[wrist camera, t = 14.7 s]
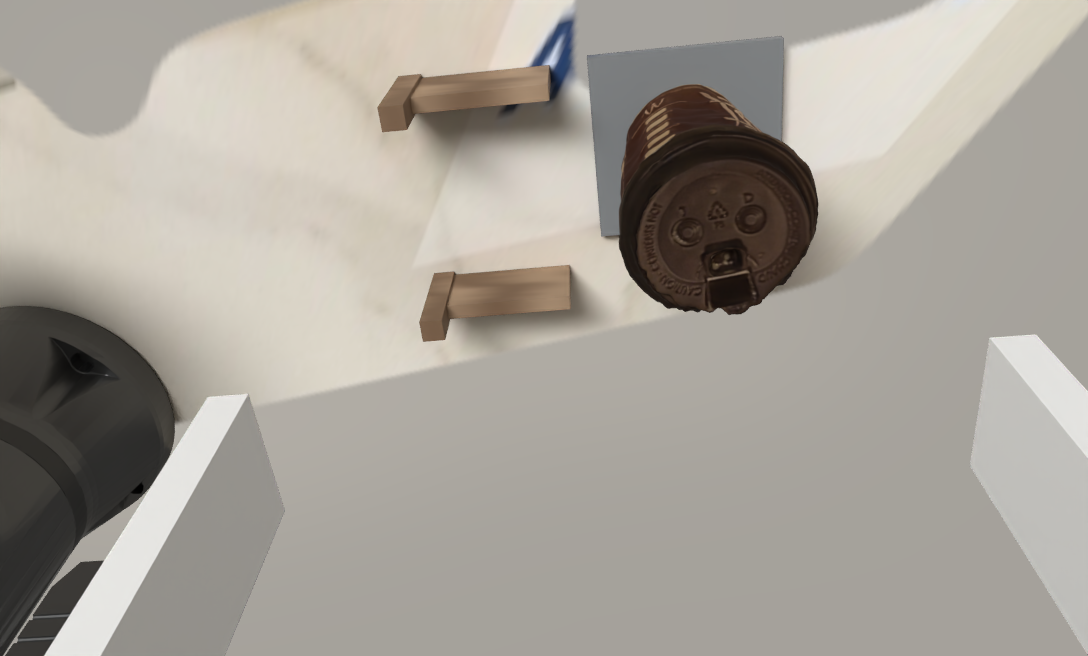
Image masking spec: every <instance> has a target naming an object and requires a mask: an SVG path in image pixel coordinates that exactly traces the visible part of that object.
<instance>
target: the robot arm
mask: <svg viewBox="0 0 1088 656" xmlns="http://www.w3.org/2000/svg"><path fill="white" fill-rule="evenodd" d="M174 433H175V426H174V416H173V412H172V407H171V404H170V401H169V399H168V396H167V394H166V392H165V390H164V388H163V386H162V384H161V382H160V381H159V379H158V378H157V376H156V375H155V373H154V372H153V370H152V369H151V368H150V367H149V365H148V364H147V363H146V362H145V361H144V360H143V359H142V358H141V357H140V356H139V355H138V354H137V353H136V352H135V351H134V350H133V349H132V348H131V347H130V346H128V345H127V344H126V343H125V342H123V341H122V340H121V339H119V338H118V337H116V336H115V335H114V334H112V333H110V332H109V331H107V330H105V329H104V328H102V327H100V326H98V325H96V324H94V323H92V322H90V321H88V320H86V319H83V318H81V317H78V316H75V315H72V314H69V313H66V312H62V311H59V310H54V309H49V308H42V307H32V306H14V307H5V308H0V656H3V655H4V653H5V652H6V650H7V648H8V647H9V646H10V644H11V643H12V641H13V640H14V638H15V637H16V635H17V633H18V632H19V631H20V629H21V627H22V626H23V625H24V623H25V621H26V620H27V619H28V617H29V616H30V614H31V613H32V611H33V609H34V608H35V606H36V605H37V603H38V602H39V600H40V599H41V597H42V596H43V594H44V593H45V591H46V590H47V588H48V587H49V585H50V584H51V582H52V581H53V580H54V578H55V577H56V575H57V574H58V572H59V571H60V569H61V568H62V566H63V565H64V563H65V562H66V560H67V559H68V557H69V555H70V554H71V553H72V551H73V550H74V548H75V547H76V545H77V544H78V543H79V541H80V540H81V539H82V538H83V537H85V536H86V535H88V534H89V533H90V532H92V531H93V530H95V529H96V528H98V527H99V526H101V525H102V524H104V523H105V522H106V521H108V520H110V519H111V518H113V517H114V516H115V515H117V514H118V513H120V512H121V511H122V510H124V509H126V508H127V507H129V506H130V505H131V504H133V503H134V502H135V501H137V500H138V499H139V498H140V497H141V496H142V495H143V494H144V493H145V492H146V491H147V490H148V489H149V488H150V486H151V485H152V486H151V488H150V489H149V491H148V492H147V494H146V495H145V497H144V499H143V500H142V502H141V504H140V505H139V506H138V508H137V510H136V511H135V513H134V514H133V516H132V518H131V519H130V521H129V522H128V524H127V525H126V527H125V529H124V530H123V532H122V533H121V535H120V537H119V538H118V540H117V541H116V543H115V544H114V546H113V548H112V549H111V551H110V552H109V554H108V556H107V557H106V559H105V560H104V561H91V562H80V563H79V564H78V565H77V566H76V567H75V568H73V569H72V570H71V571H70V572H69V573H68V574H66V575H65V576H64V577H63V578H62V579H61V580H60V581H58V582H57V583H56V584H55V585H54V586H53V587H52V588H51V589H50V591H49V592H48V594H47V595H46V596H45V598H44V599H43V601H42V602H41V604H40V605H39V607H38V608H37V610H36V611H35V613H34V614H33V620H29V622H28V623H27V624H26V626H25V628H24V629H23V630H22V632H21V633H20V635H19V636H18V642H17V643H14V644H13V645H12V646H11V648H10V649H9V651H8V652H7V654H6V655H5V656H225V654H226V651H227V649H228V646H229V644H230V642H231V639H232V637H233V635H234V632H235V630H236V627H237V625H238V623H239V620H240V618H241V615H242V613H243V610H244V608H245V606H246V603H247V601H248V598H249V596H250V594H251V591H252V589H253V586H254V584H255V582H256V579H257V577H258V574H259V572H260V569H261V567H262V564H263V562H264V560H265V557H266V555H267V553H268V550H269V548H270V545H271V543H272V540H273V538H274V536H275V533H276V531H277V528H278V526H279V524H280V521H281V519H282V517H283V514H284V512H285V510H284V507H283V503H282V500H281V497H280V493H279V490H278V487H277V484H276V481H275V477H274V474H273V471H272V468H271V465H270V462H269V458H268V455H267V452H266V449H265V445H264V442H263V439H262V436H261V433H260V429H259V427H258V423H257V420H256V417H255V414H254V410H253V407H252V404H251V401H250V397H249V394H240V395H226V396H213V397H207V399H206V400H205V402H204V404H203V405H202V407H201V408H200V410H199V412H198V413H197V415H196V416H195V418H194V419H193V421H192V423H191V424H190V426H189V427H188V429H187V431H186V432H185V434H184V435H183V437H182V438H181V440H180V442H179V443H178V445H177V446H176V448H175V450H174V451H173V453H172V455H171V456H170V453H171V450H172V447H173V442H174ZM169 456H170V458H169ZM168 458H169V459H168ZM167 460H168V461H167ZM165 463H166V464H165ZM970 466H971V468H972V470H973V471H974V473H975V475H976V476H977V478H978V479H979V481H980V483H981V484H982V486H983V487H984V489H985V491H986V492H987V494H988V496H989V497H990V499H991V500H992V502H993V504H994V505H995V507H996V508H997V510H998V512H999V513H1000V515H1001V516H1002V518H1003V520H1004V521H1005V523H1006V524H1007V526H1008V528H1009V529H1010V531H1011V532H1012V534H1013V536H1014V537H1015V539H1016V541H1017V542H1018V544H1019V545H1020V547H1021V549H1022V550H1023V552H1024V553H1025V555H1026V557H1027V558H1028V560H1029V561H1030V563H1031V565H1032V566H1033V568H1034V569H1035V571H1036V573H1037V574H1038V576H1039V577H1040V579H1041V581H1042V582H1043V584H1044V585H1045V587H1046V589H1047V590H1048V592H1049V594H1050V595H1051V597H1052V598H1053V600H1054V602H1055V603H1056V605H1057V606H1058V608H1059V610H1060V611H1061V613H1062V614H1063V616H1064V618H1065V619H1066V621H1067V623H1068V624H1069V626H1070V627H1071V629H1072V631H1073V632H1074V634H1075V635H1076V637H1077V639H1078V640H1079V642H1080V643H1081V645H1082V647H1083V648H1084V650H1085V651H1086V653H1087V655H1088V391H1087V390H1086V389H1085V388H1084V387H1083V386H1082V385H1081V384H1080V383H1079V381H1078V380H1077V379H1076V378H1075V377H1074V376H1073V375H1072V374H1071V373H1070V372H1069V371H1068V369H1067V368H1066V367H1065V366H1064V365H1063V364H1062V363H1061V362H1060V361H1059V359H1058V358H1057V357H1056V356H1055V355H1054V354H1053V353H1052V352H1051V351H1050V350H1049V348H1048V347H1047V346H1046V345H1045V344H1044V343H1043V342H1042V341H1041V340H1040V339H1039V338H1038V336H1037V335H1036V334H1035V335H1023V336H1022V335H1021V336H1008V337H995V338H990V339H989V345H988V352H987V359H986V365H985V372H984V378H983V385H982V391H981V398H980V404H979V410H978V418H977V423H976V430H975V436H974V443H973V450H972V457H971V462H970ZM162 468H163V469H162ZM160 471H161V472H160ZM158 474H159V475H158ZM155 479H156V480H155ZM153 482H154V483H153Z"/></svg>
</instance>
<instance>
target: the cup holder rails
mask: <svg viewBox="0 0 1088 656" xmlns="http://www.w3.org/2000/svg"><path fill="white" fill-rule="evenodd" d="M550 84H551V78H550V68H549V65H546V66H536V67H526V68H516V69H506V70H496V71H486V72H476V73H466V74H456V75H446V76H436V77H426V78H421V74H417V75H407V76H398V78H397V79H396V81H395V82H394V84H393V85H392V87H391V88H390V90H389V91H388V93H387V94H386V96H385V97H384V99H383V100H382V102H381V103H380V104H379V106H378V112H379V118H380V123H381V128H382V132H390V131H400V130H407V129H408V127H409V125H410V123H411V121H412V120H413V118H414V116H415V114H417V113H428V112H438V111H448V110H459V109H469V108H479V107H489V106H500V105H510V104H520V103H530V102H541V101H549V97H550ZM566 309H571V277H570V267H569V265H565V266H553V267H541V268H529V269H517V270H505V271H493V272H482V273H470V274H458V275H455V274H454V272H445V273H434V276H433V279H432V282H431V285H430V289H429V292H428V295H427V299H426V302H425V305H424V309H423V312H422V315H421V319H420V322H419V323H420V328H421V333H422V338H423V342H425V341H437V340H445V338H446V334H447V330H448V326H449V322H450V319H454V318H466V317H479V316H491V315H504V314H516V313H529V312H541V311H554V310H566Z"/></svg>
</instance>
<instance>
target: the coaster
mask: <svg viewBox="0 0 1088 656" xmlns="http://www.w3.org/2000/svg"><path fill="white" fill-rule="evenodd" d="M783 51H784V38H783V37H782V36H776V37H766V38H756V39H746V40H736V41H726V42H716V43H707V44H697V45H686V46H676V47H666V48H656V49H647V50H636V51H626V52H617V53H607V54H597V55H587V64H588V76H589V89H590V101H591V114H592V126H593V139H594V151H595V164H596V176H597V189H598V201H599V214H600V226H601V236H613V235H620V233H619V207H620V203H621V196H620V190H621V175H622V171H621V166H622V162H623V158H624V155H625V149H626V138H627V133H628V129H629V127H630V126H631V124H632V122H633V120H634V119H635V117H636V115H637V114H638V113H639V112H640V111H641V109H642V108H643V107H644V106H645V105H646V104H647V103H648V102H650V101H651V100H652V99H654V98H655V97H657V96H658V95H660V94H661V93H663V92H665V91H668V90H670V89H673V88H675V87H678V86H682V85H688V84H700V85H703V86H708V87H711V88H712V89H714V90H715V91H717V92H718V93H720V94H722V95H723V96H724V97H725V98H726V99H728V100H729V101H730V102H731V103H732V104H733V105H734V106H735V107H736V108H737V109H738V110H739V111H740V112H742V114H743V115H744V116H745V117H746V118H747V119H748V120H749V121H750V122H752V124H753V125H755V126H756V127H757V128H758V129H760V130H761V131H762V132H763V133H766V134H768V135H770V136H772V137H774V138H776V139H779V140H780V141H781V139H782V95H783Z"/></svg>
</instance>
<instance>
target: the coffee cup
mask: <svg viewBox="0 0 1088 656" xmlns="http://www.w3.org/2000/svg"><path fill="white" fill-rule="evenodd" d="M621 171H622V175H621V190H620V196H621V203H620V207H619V233H620V237H619V249H620V251H621V254H622V257H623V260H624V263H625V266H626V269H627V271H628V272H629V275H630V276H631V278H632V279H633V280H634V281H635V282H636V283H637V285H638V286H639V287H640V288H641V289H642V290H643V291H644V292H645V293H646V294H648V295H649V296H650V297H651V298H653V299H654V300H655V301H657V302H660V303H662V304H663V305H664V306H665V307H666V308H669V309H670V308H677V309H679V310H683V311H685V312H687V311H690V310H691V311H695V312H700V311H701V310H703V311H706V312H709V313H710V312H713V311H714V310H715V309H717V308H722V309H723V310H724V311H725V312H727V314H728V315H731V314H742V313H744V312H745V311H746V310H748V308H749V307H751V306H755V305H758V304H760V303H761V302H762V299H765V297H766V296H767V295H768V294H769V293H770V292H771V291H772V290H773V289H774V288H775V287H776V286H778V285H783V284H785V283H786V281H787V279H788V278H789V277H790V276H791V274H792V272H793V270H794V269H795V268H796V267H797V265H798V264H799V263H800V260H801V259H802V258H803V257H804V256H805V255H806V253H807V250H808V248H809V245H810V243H811V241H812V239H813V237H814V234H815V231H816V224H817V217H818V198H817V193H816V187H815V182H814V179H813V176H812V173H811V170H810V168H809V166H808V165H807V164H806V163H805V162H804V161H803V160H802V159H801V158H800V157H799V156H798V155H797V154H796V153H795V151H794V150H792V149H791V148H790V147H789V146H787V145H786V144H785V143H783V142H782V141H780V140H779V139H776V138H774V137H772V136H770V135H768V134H766V133H763V132H762V131H761V130H760V129H758V128H757V127H756V126H755V125H753V124H752V122H750V121H749V120H748V119H747V118H746V117H745V116H744V115H743V114H742V112H740V111H739V110H738V109H737V108H736V107H735V106H734V105H733V104H732V103H731V102H730V101H729V100H728V99H726V98H725V97H724V96H723V95H722V94H720V93H718V92H717V91H715V90H714V89H712V88H711V87H708V86H703V85H700V84H688V85H682V86H678V87H675V88H673V89H670V90H668V91H665V92H663V93H661V94H660V95H658V96H657V97H655V98H654V99H652V100H651V101H650V102H648V103H647V104H646V105H645V106H644V107H643V108H642V109H641V111H640V112H639V113H638V114H637V115H636V117H635V119H634V120H633V122H632V124H631V126H630V127H629V129H628V133H627V138H626V149H625V155H624V158H623V162H622V166H621Z"/></svg>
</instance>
